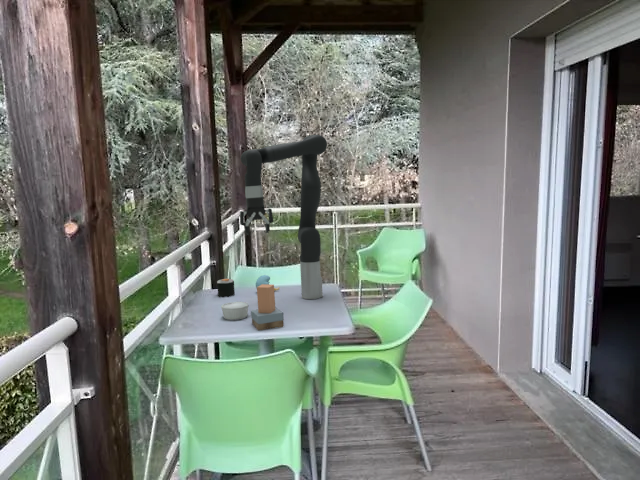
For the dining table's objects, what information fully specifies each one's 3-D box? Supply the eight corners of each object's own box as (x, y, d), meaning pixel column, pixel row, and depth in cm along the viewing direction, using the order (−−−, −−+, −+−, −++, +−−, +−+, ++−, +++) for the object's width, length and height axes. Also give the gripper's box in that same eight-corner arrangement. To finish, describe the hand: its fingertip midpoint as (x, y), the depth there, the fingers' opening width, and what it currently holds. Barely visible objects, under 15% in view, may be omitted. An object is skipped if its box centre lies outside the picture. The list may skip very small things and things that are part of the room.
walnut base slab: (276, 321, 200) (276, 314, 200) (283, 328, 191) (283, 320, 190) (252, 324, 197) (251, 317, 196) (258, 331, 187) (257, 324, 187)
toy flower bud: (281, 276, 247) (257, 276, 243) (281, 293, 248) (257, 294, 244) (278, 273, 254) (254, 274, 250) (277, 290, 255) (254, 291, 251)
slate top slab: (275, 314, 200) (275, 306, 199) (283, 320, 191) (283, 312, 190) (251, 317, 196) (250, 310, 196) (258, 324, 187) (257, 316, 186)
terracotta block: (263, 309, 196) (262, 284, 195) (275, 309, 195) (273, 284, 193) (258, 312, 191) (256, 287, 190) (270, 313, 190) (269, 287, 189)
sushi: (235, 292, 251) (234, 277, 250) (233, 296, 243) (232, 280, 242) (219, 293, 251) (218, 277, 250) (216, 297, 243) (215, 281, 242)
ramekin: (234, 312, 214) (233, 300, 214) (254, 315, 209) (254, 302, 208) (216, 319, 205) (215, 306, 204) (237, 322, 199) (236, 309, 198)
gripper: (240, 198, 210) (243, 236, 212) (272, 195, 215) (275, 232, 217) (236, 197, 217) (239, 234, 219) (268, 195, 222) (271, 231, 224)
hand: (257, 233), depth 218 cm, fingers open, 8 cm apart
